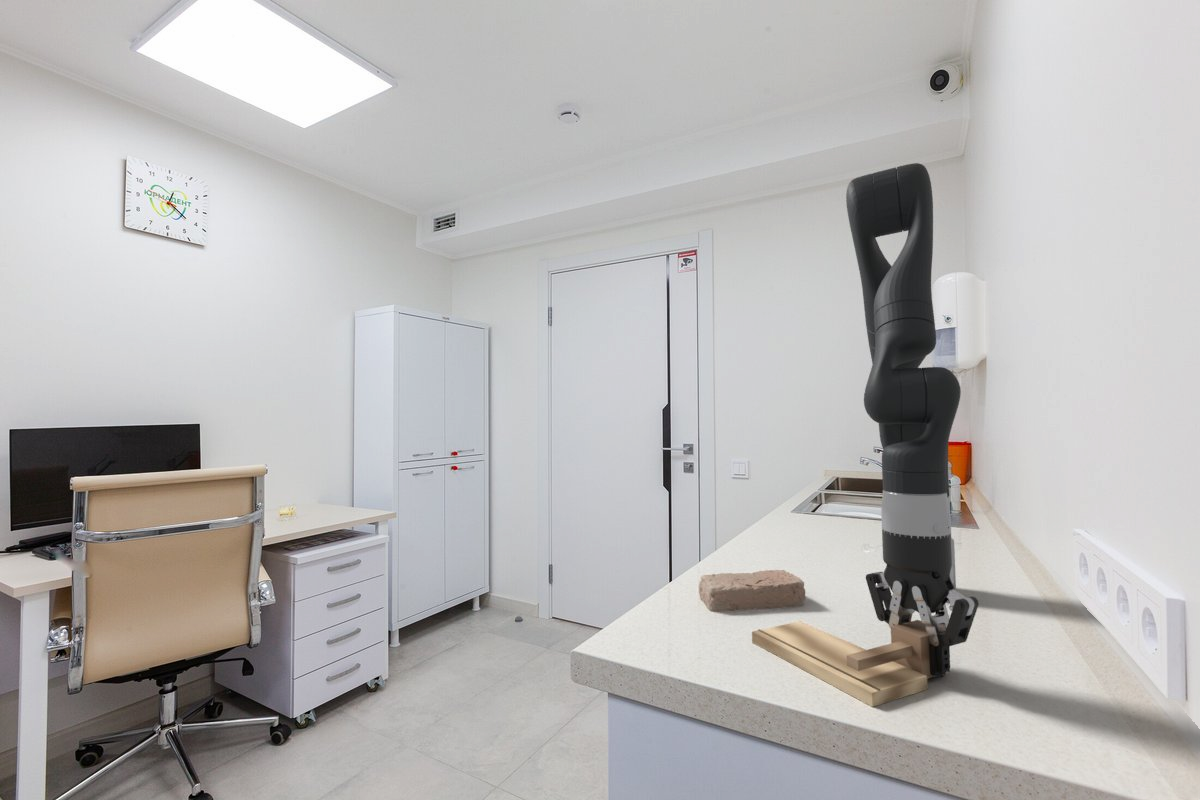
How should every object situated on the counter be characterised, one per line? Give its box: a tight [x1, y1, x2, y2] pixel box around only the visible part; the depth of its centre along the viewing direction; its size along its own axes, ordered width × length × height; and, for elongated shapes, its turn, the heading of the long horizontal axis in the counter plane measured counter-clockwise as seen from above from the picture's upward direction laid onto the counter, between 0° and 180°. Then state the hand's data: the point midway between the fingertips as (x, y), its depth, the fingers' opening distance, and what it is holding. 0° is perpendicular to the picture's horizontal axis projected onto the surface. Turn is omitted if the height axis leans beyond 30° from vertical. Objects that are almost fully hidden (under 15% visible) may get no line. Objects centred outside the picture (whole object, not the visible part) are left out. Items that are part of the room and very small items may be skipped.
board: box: [751, 621, 928, 708], centre depth 73 cm, size 9×20×2 cm, turn 24°
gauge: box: [847, 619, 951, 679], centre depth 68 cm, size 15×4×5 cm, turn 114°
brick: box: [698, 569, 806, 613], centre depth 98 cm, size 17×8×5 cm, turn 95°
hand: (920, 666), depth 70 cm, fingers closed on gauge, 4 cm apart
